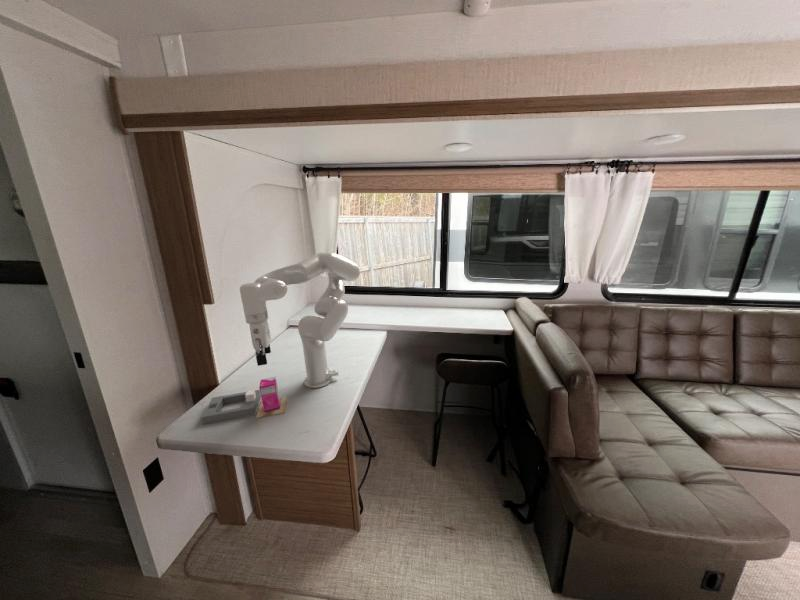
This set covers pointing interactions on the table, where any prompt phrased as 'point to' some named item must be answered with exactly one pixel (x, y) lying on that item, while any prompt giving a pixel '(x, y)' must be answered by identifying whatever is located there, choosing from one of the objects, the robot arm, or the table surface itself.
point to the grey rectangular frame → (216, 404)
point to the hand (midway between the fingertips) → (264, 358)
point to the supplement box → (269, 394)
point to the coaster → (273, 412)
